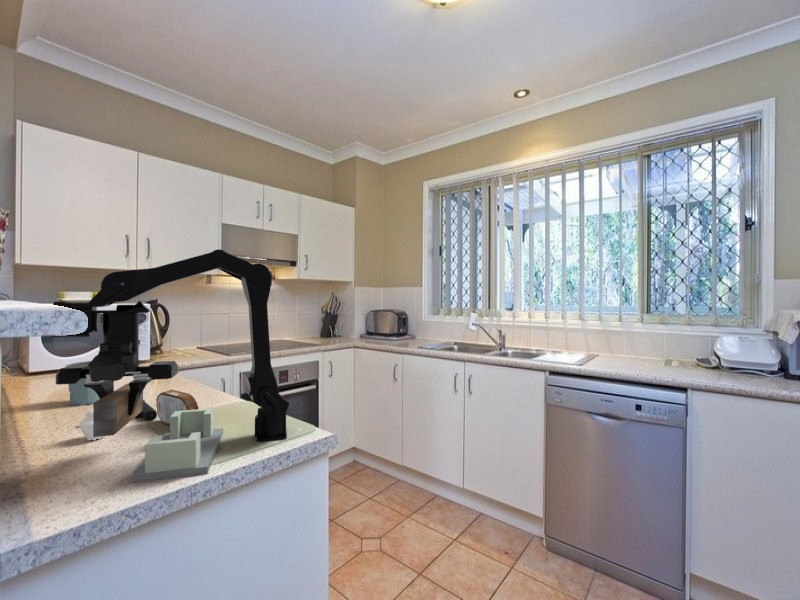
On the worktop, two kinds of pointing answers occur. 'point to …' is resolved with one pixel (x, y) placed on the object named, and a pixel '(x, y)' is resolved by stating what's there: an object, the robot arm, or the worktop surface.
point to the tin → (174, 404)
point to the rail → (113, 412)
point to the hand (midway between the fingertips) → (120, 415)
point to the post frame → (181, 447)
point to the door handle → (147, 412)
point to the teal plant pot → (81, 391)
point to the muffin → (88, 426)
